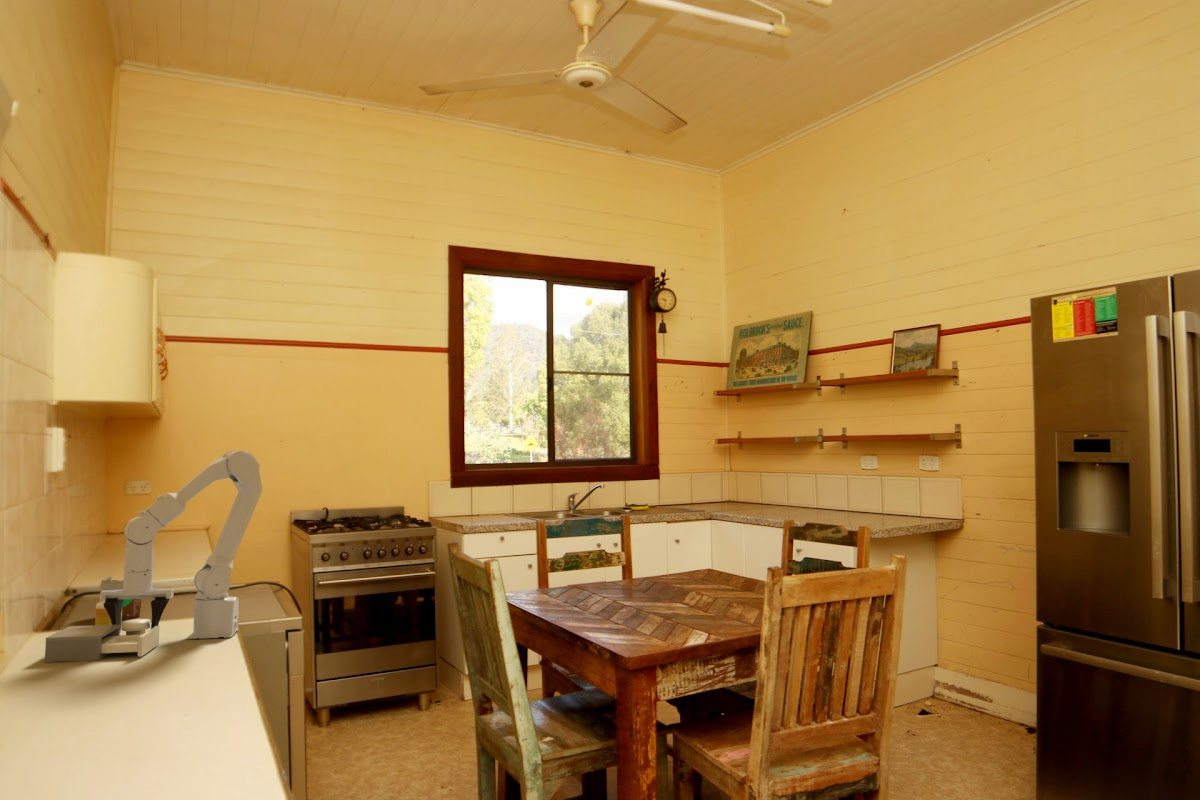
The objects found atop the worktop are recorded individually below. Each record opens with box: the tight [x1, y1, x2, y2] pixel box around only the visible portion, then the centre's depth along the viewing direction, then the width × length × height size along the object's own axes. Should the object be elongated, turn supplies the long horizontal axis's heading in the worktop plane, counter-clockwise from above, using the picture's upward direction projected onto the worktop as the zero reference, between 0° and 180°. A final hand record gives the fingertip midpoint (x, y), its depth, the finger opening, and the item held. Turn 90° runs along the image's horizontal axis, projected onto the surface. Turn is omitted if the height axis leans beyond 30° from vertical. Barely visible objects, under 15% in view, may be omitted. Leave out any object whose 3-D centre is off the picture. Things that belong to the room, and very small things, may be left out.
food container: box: [99, 576, 143, 621], centre depth 206 cm, size 12×6×10 cm, turn 73°
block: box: [125, 630, 146, 635], centre depth 178 cm, size 3×3×4 cm
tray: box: [101, 625, 160, 657], centre depth 171 cm, size 10×11×4 cm
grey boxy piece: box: [44, 624, 121, 663], centre depth 169 cm, size 10×11×5 cm
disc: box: [121, 618, 152, 632], centre depth 179 cm, size 6×6×2 cm
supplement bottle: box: [94, 600, 123, 634], centre depth 189 cm, size 5×5×10 cm
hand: (135, 631), depth 179 cm, fingers open, 7 cm apart
